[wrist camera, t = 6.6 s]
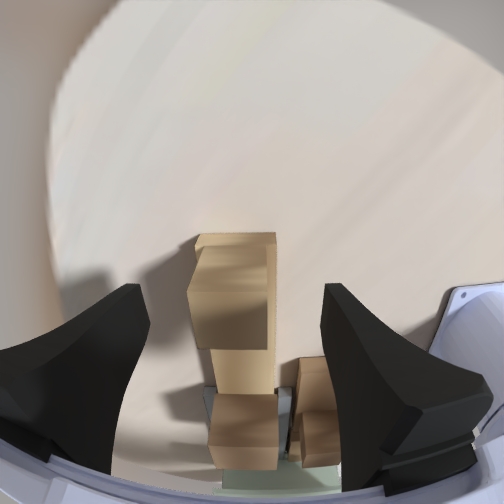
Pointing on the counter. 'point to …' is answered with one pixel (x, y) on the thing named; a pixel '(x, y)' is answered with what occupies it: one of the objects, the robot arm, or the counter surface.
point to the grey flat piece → (283, 421)
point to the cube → (244, 431)
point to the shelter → (280, 481)
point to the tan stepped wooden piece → (236, 308)
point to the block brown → (316, 415)
